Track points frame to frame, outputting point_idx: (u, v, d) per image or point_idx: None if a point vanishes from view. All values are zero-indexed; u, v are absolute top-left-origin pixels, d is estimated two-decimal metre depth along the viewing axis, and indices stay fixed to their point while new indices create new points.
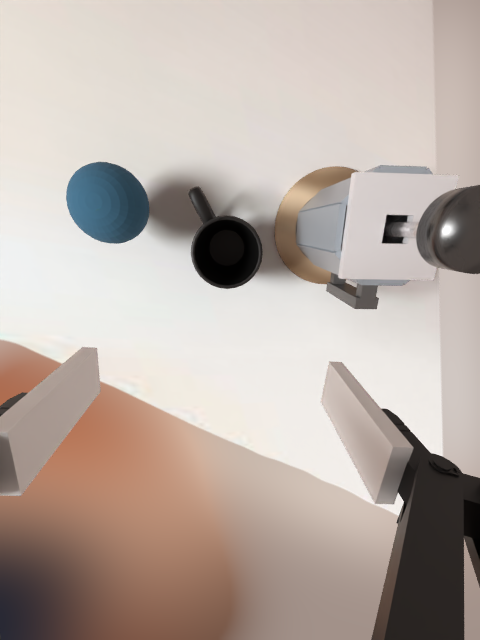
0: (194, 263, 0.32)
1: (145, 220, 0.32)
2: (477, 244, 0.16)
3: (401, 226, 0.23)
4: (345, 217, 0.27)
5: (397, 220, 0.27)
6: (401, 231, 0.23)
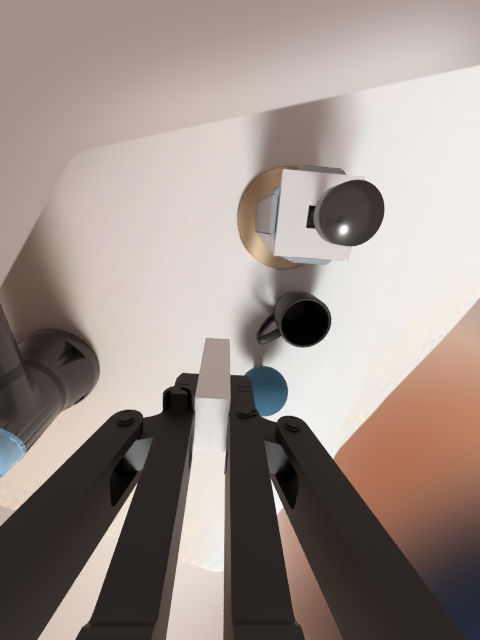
0: (309, 345, 0.44)
1: (274, 371, 0.47)
2: (362, 218, 0.23)
3: None
4: None
5: None
6: None
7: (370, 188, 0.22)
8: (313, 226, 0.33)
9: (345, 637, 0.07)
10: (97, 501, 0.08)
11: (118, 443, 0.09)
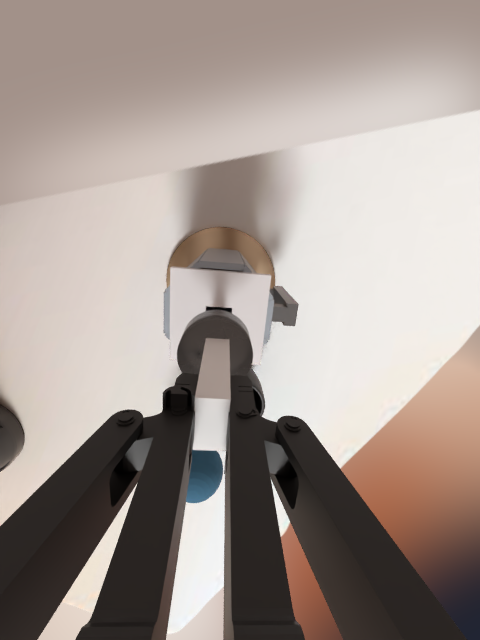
0: None
1: (207, 452, 0.42)
2: None
3: None
4: None
5: None
6: None
7: (232, 329, 0.18)
8: None
9: (345, 638, 0.07)
10: (97, 501, 0.08)
11: (118, 443, 0.09)
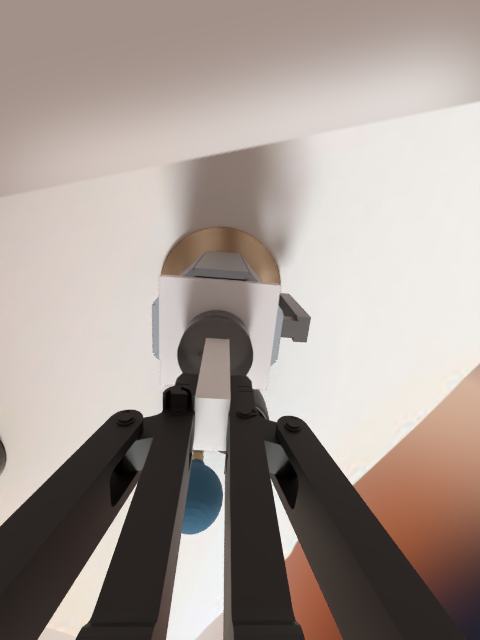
0: None
1: (205, 477, 0.38)
2: None
3: None
4: None
5: None
6: None
7: (232, 329, 0.18)
8: None
9: (344, 637, 0.07)
10: (97, 501, 0.08)
11: (118, 443, 0.09)
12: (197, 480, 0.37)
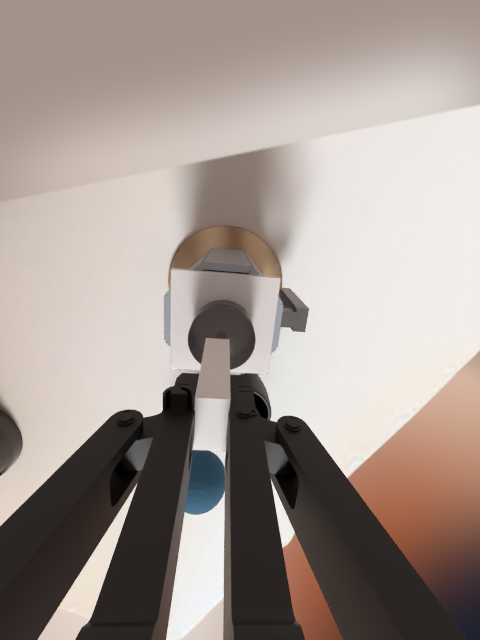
0: None
1: (210, 461, 0.40)
2: (232, 345, 0.21)
3: None
4: None
5: None
6: None
7: (237, 316, 0.20)
8: None
9: (345, 637, 0.07)
10: (97, 501, 0.08)
11: (118, 443, 0.09)
12: (202, 464, 0.39)
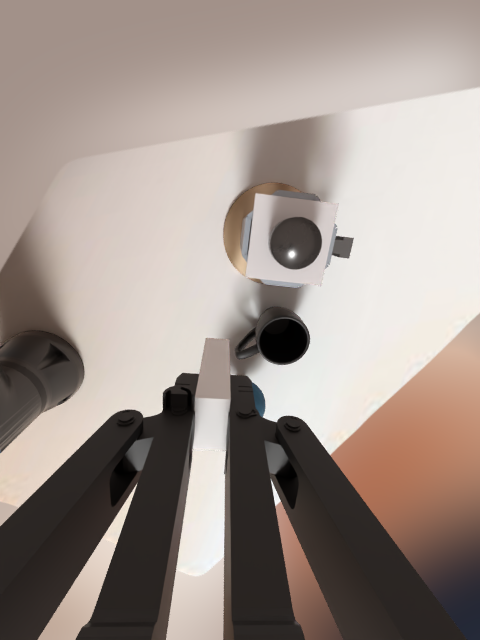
0: (286, 363, 0.44)
1: (252, 386, 0.47)
2: (304, 247, 0.28)
3: None
4: None
5: None
6: None
7: (310, 224, 0.27)
8: None
9: (344, 637, 0.07)
10: (97, 501, 0.08)
11: (118, 443, 0.09)
12: None
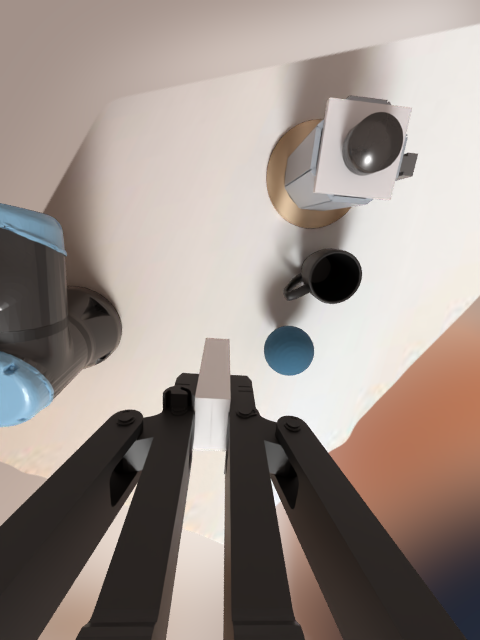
0: (338, 302, 0.44)
1: (301, 330, 0.46)
2: (384, 146, 0.27)
3: None
4: None
5: None
6: None
7: (392, 120, 0.26)
8: None
9: (344, 637, 0.07)
10: (97, 501, 0.08)
11: (118, 443, 0.09)
12: (296, 330, 0.46)
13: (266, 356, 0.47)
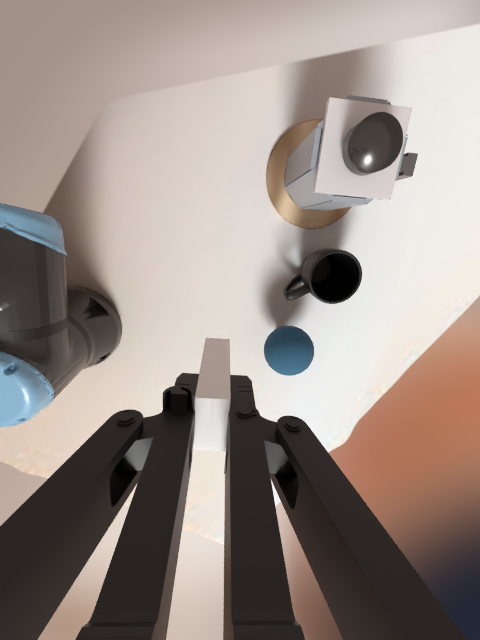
0: (338, 302, 0.44)
1: (301, 330, 0.46)
2: (384, 146, 0.27)
3: None
4: None
5: None
6: None
7: (392, 120, 0.26)
8: None
9: (344, 637, 0.07)
10: (97, 501, 0.08)
11: (118, 443, 0.09)
12: (296, 330, 0.46)
13: (266, 356, 0.47)
